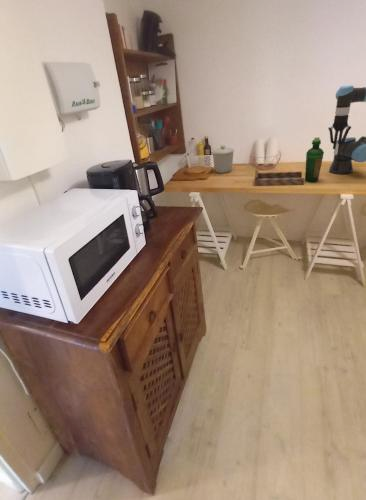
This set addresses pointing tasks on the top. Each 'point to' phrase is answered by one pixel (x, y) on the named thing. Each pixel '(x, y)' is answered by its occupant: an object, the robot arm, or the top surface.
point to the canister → (223, 159)
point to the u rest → (278, 178)
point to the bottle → (313, 161)
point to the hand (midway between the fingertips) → (335, 154)
